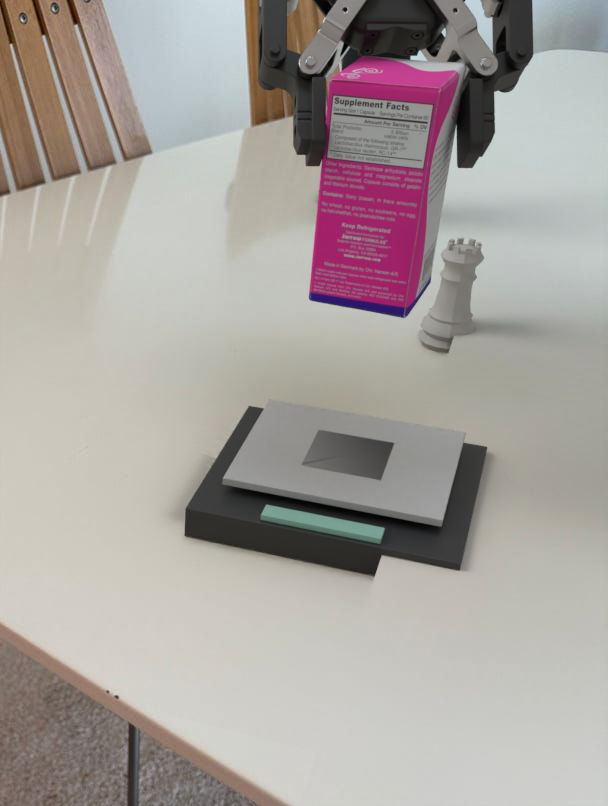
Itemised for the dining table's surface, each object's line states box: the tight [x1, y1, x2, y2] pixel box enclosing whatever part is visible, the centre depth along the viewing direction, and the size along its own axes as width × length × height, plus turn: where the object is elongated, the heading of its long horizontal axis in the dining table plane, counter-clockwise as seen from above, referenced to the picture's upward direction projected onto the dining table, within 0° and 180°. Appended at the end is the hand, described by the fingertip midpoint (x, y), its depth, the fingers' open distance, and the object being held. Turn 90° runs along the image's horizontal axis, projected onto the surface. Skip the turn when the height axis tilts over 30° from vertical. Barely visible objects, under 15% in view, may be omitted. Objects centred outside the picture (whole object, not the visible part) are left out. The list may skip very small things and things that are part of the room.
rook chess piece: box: [417, 237, 485, 354], centre depth 82 cm, size 4×4×8 cm
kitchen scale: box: [183, 399, 488, 576], centre depth 65 cm, size 16×14×3 cm
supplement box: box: [308, 56, 466, 319], centre depth 56 cm, size 6×6×12 cm
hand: (393, 159), depth 54 cm, fingers closed on supplement box, 7 cm apart
